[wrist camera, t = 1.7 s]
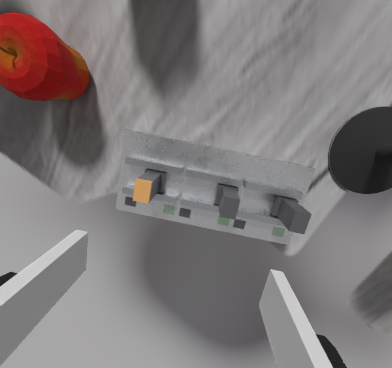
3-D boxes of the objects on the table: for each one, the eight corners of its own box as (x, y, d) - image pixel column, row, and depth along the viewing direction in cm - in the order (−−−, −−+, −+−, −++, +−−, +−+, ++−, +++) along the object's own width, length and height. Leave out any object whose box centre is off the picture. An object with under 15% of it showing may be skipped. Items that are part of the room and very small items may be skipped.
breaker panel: (120, 205, 36) (111, 213, 33) (128, 129, 33) (119, 129, 29) (284, 239, 36) (292, 250, 33) (309, 166, 33) (321, 170, 29)
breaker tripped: (145, 186, 33) (128, 200, 26) (147, 167, 32) (131, 177, 25) (163, 189, 33) (152, 205, 26) (166, 171, 32) (155, 182, 25)
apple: (56, 32, 30) (-36, -28, 19) (108, 65, 31) (49, 26, 19) (37, 87, 32) (-57, 64, 21) (86, 117, 33) (20, 110, 21)
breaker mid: (214, 200, 33) (215, 216, 27) (218, 182, 32) (221, 194, 26) (233, 204, 33) (238, 221, 27) (237, 186, 32) (244, 199, 26)
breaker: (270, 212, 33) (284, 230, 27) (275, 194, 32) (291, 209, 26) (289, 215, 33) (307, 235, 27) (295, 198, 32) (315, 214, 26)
